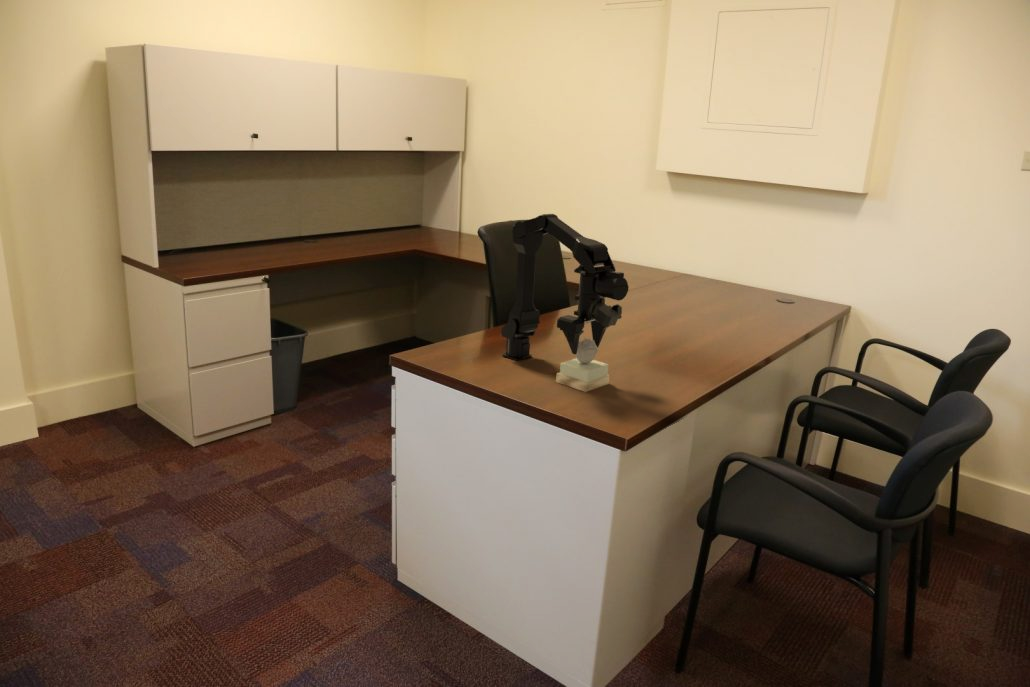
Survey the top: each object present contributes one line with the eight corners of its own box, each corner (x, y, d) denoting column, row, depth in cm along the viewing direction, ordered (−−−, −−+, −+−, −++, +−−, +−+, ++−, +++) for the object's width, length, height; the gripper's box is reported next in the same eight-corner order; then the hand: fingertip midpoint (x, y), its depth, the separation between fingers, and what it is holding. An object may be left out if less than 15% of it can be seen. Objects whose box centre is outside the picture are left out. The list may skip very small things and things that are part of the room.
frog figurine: (579, 368, 186) (581, 342, 184) (569, 360, 192) (570, 335, 190) (601, 366, 188) (602, 340, 186) (590, 358, 194) (591, 333, 192)
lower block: (555, 384, 191) (556, 373, 191) (579, 376, 199) (579, 365, 198) (585, 394, 185) (586, 383, 184) (608, 385, 192) (609, 375, 191)
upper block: (559, 374, 190) (560, 363, 190) (580, 366, 197) (581, 356, 196) (587, 382, 185) (588, 371, 184) (607, 374, 191) (608, 364, 190)
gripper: (592, 303, 173) (587, 365, 177) (637, 293, 186) (631, 351, 190) (557, 295, 180) (553, 354, 184) (602, 286, 193) (597, 341, 197)
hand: (585, 350), depth 189 cm, fingers open, 9 cm apart
